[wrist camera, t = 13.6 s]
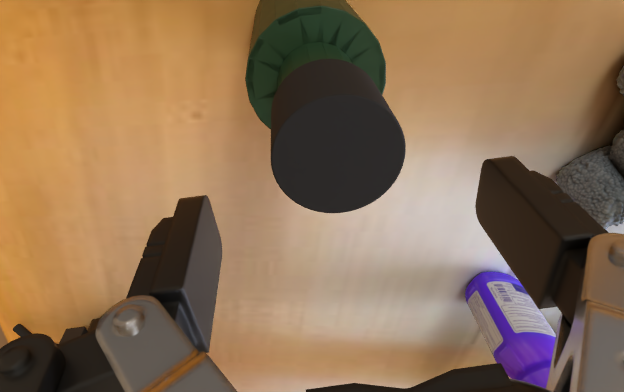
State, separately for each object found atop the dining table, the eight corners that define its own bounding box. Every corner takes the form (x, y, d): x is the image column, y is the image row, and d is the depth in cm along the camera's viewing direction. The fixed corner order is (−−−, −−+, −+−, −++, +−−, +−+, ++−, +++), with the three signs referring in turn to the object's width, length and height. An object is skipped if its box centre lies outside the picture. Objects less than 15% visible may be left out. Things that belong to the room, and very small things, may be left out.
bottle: (452, 294, 51) (522, 441, 37) (477, 263, 48) (563, 409, 34) (499, 304, 53) (583, 447, 39) (526, 274, 50) (627, 417, 36)
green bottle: (263, 76, 34) (256, 191, 20) (247, -21, 29) (224, 37, 15) (349, 66, 34) (404, 173, 20) (345, -32, 29) (410, 15, 16)
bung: (278, 146, 21) (280, 220, 16) (263, 50, 18) (260, 103, 13) (371, 134, 21) (403, 205, 16) (370, 37, 18) (408, 85, 13)
